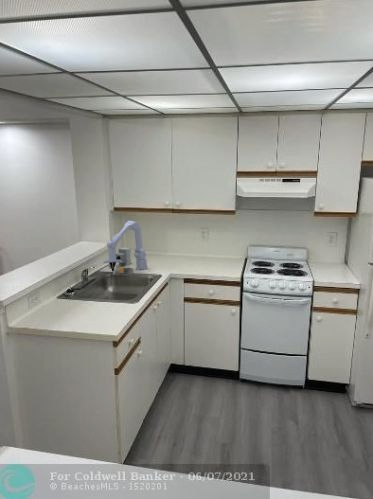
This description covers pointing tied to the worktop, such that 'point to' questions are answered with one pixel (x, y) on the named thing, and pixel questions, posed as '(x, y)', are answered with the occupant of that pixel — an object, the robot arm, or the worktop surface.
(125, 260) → the circuit breaker
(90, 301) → the worktop surface
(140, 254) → the robot arm
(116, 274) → the breaker panel
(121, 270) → the toggle
